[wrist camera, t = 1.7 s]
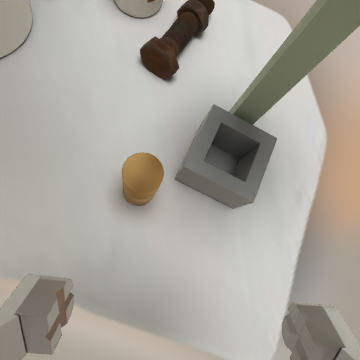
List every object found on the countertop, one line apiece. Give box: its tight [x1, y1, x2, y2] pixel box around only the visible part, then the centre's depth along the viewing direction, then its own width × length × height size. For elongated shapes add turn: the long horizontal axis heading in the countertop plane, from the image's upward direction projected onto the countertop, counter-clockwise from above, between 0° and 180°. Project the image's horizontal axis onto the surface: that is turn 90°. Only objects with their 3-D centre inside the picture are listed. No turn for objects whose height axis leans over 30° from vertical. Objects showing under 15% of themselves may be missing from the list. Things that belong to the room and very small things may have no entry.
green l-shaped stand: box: [229, 0, 360, 125], centre depth 23 cm, size 10×12×30 cm
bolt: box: [140, 0, 215, 79], centre depth 38 cm, size 6×5×15 cm
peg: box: [122, 153, 164, 205], centre depth 29 cm, size 4×4×9 cm
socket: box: [175, 105, 277, 208], centre depth 33 cm, size 9×9×6 cm
